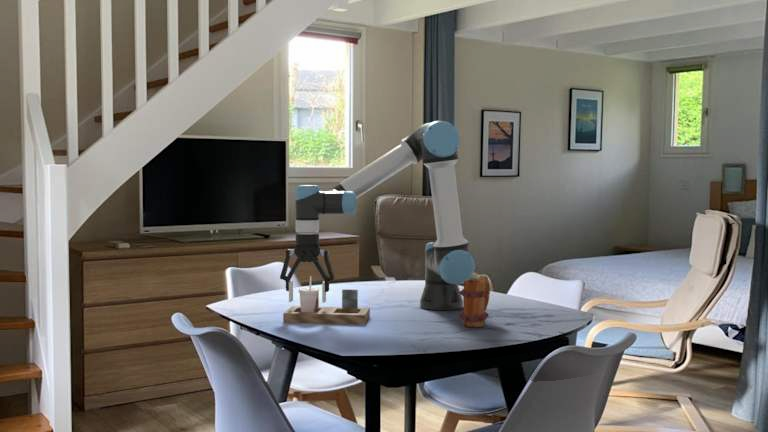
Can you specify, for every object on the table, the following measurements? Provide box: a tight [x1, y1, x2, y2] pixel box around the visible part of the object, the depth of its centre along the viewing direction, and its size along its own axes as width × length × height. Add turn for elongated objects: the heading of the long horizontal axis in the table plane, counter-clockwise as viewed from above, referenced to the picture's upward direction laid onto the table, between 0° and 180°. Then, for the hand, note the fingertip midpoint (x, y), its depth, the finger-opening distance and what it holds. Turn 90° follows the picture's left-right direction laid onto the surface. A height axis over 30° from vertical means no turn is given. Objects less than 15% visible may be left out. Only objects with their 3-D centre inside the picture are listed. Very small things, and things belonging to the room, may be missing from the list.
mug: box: [458, 275, 491, 328], centre depth 249 cm, size 15×8×15 cm, turn 148°
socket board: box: [282, 288, 371, 325], centre depth 256 cm, size 26×13×9 cm, turn 84°
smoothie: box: [298, 275, 319, 312], centre depth 257 cm, size 6×6×14 cm
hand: (307, 301), depth 257 cm, fingers open, 10 cm apart
